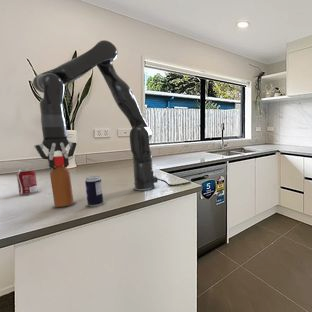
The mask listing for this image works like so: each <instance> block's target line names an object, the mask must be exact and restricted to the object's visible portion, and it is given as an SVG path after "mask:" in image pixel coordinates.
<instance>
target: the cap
mask: <svg viewBox="0 0 312 312" xmlns="http://www.w3.org/2000/svg"><path fill="white" fill-rule="evenodd" d="M53 160H54V165H55V166H64V165H65V161H64V156H62V155H55V156H54V155H53Z"/></svg>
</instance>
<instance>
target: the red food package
mask: <svg viewBox="0 0 312 312" xmlns="http://www.w3.org/2000/svg"><path fill="white" fill-rule="evenodd" d="M36 175H37V174H36V171H35V170H34V168H24V169H19V170H17V172H16V181H17V187H18V194H19V195H22V196H29V195H34V194H36V193H37V192H39V189H38V181H37V176H36Z"/></svg>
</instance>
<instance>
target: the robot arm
mask: <svg viewBox="0 0 312 312" xmlns="http://www.w3.org/2000/svg"><path fill="white" fill-rule="evenodd" d="M117 56H118V49H117V47H116V46H115V44H113V43H112V42H111V41H109V40H106V39H103V40H99V41H98V42H97V43H95V44H94V46H92V48H90V49H89V50H86V52H84V53H82V54H79V55H78V56H76V57H74V58H72V59H70V60H67V61H66V62H64V63H62V64H60V65H58V66H57V67H55V68H52V69H50V70H47V71H44V72H42V73H38V74H37V75H36V76H35V77H33V80H32V86H33V87H34V89H35V90H36V91H38V92H40V93H42V94H43V97H42V99H40V101H39V111H40V124H41V132H42V138H43V139H42V142H41V143H39V144H35V145H34V146H33V147H34V149H35V150H36V151H37V153H38V155H39V157H41V159H43V160H47V163H48V167H49V168H50V169H51V170H53V169H55V165H54V160H53V157H54V155H55V152H60V154H61V156H64V161H65V165H64V167H66V168H68V166H69V165H70V162H69V161H70V160H69V158H72V157H73V156H74V153H75V151H76V147H77V145H78V143H77V142H73V141H70V140H69V139H68V133H67V123H66V119H65V116H64V108H63V103H64V94H65V85H66V84H67V85H68V84H71V83H73V82H76V81H77V80H78V79H80V78H82V77H83V76H85V75H86V74H87V73H89V72H90V71H91V70H93V69H94V68H95V67H97V68H98V70H99V72H100V73H101V75H102V77H103V79H104V82H105V83H106V85H107V88H108V89H109V91H110V94H111V96H112V98H113V100H114V102H115V104H116V106H117V108H119V110H120V112H122V114H123V115H124V116H125V118H126V119H127V121H128V123H129V125H130V127H131V129H130V131H129V146H130V152H131V154H132V165H133V166H132V167H133V181H134V182H133V185H134V190H135V191H138V192H139V191H140V192H142V191H143V192H145V191H149V190H153V189H155V183H158V182H159V181H161V182H163V183H165V184H166V185H167V186H169V187H177V186H182V185H188V184H191V183H192V181H186V182H181V183H175V184H171V183H169V182H168V181H166V180H165V179H161V178H158V176H157V175H154V170H153V153H152V150H151V146H150V141H151V139H152V136H153V135H152V131H151V129H150V127H149V126H148V123H147V121H146V120H145V118H144V116H143V115H142V112H141V109H140V107H139V105H138V103H137V100H136V97H135V95H134V93H133V90H132V89H131V86H130V85H128V83H127V82H126V81H125V80H124V79H122V77H120V75H118V73H117V72H116V69H115V67H114V64H113V62H114V61H115V60H116V59H117ZM44 147H45V148H46V149H47V155H46V153H45V152H44V150H43V149H44ZM67 147H69V150H68V152H67V149H66V148H67Z"/></svg>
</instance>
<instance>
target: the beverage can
mask: <svg viewBox="0 0 312 312" xmlns="http://www.w3.org/2000/svg"><path fill="white" fill-rule="evenodd" d="M84 185H85V193H86V203H87V205H88V206H90V207H98V206H101V205H102V204H103V203H104V196H103V186H102V178H101V176H100V175H92V176H88V177H87V176H86V177H85V184H84Z"/></svg>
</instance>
